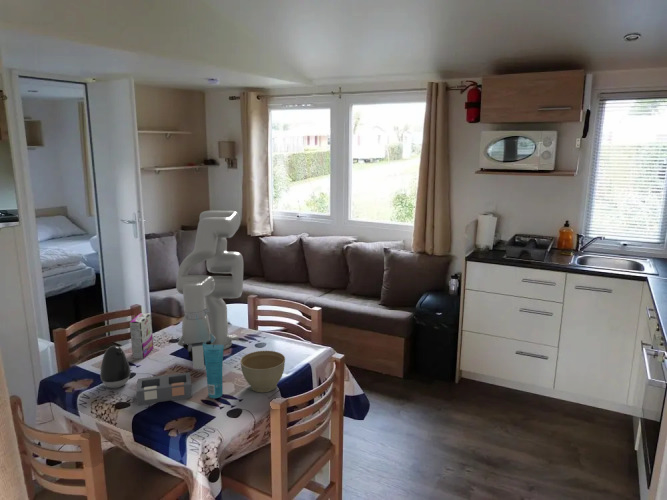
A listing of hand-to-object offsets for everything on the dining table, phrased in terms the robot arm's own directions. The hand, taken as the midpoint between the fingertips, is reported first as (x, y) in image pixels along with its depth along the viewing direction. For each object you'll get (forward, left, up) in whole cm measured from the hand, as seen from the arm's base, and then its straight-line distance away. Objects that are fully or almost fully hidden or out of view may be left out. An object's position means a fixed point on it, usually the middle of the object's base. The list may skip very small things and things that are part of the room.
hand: (198, 358), depth 190 cm
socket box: (+12, +12, -7) cm, 19 cm away
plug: (0, 0, -3) cm, 3 cm away
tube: (-5, +18, -7) cm, 20 cm away
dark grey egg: (+29, -1, -7) cm, 30 cm away
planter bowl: (-22, +17, -7) cm, 29 cm away
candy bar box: (+21, -28, -7) cm, 36 cm away
